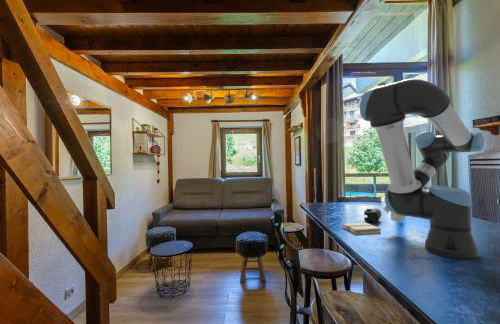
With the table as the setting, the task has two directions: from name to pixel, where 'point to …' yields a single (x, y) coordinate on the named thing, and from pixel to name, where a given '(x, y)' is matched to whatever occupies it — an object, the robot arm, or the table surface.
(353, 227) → the oak board
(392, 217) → the white bottle
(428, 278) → the table surface
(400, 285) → the table surface
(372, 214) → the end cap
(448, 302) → the table surface
